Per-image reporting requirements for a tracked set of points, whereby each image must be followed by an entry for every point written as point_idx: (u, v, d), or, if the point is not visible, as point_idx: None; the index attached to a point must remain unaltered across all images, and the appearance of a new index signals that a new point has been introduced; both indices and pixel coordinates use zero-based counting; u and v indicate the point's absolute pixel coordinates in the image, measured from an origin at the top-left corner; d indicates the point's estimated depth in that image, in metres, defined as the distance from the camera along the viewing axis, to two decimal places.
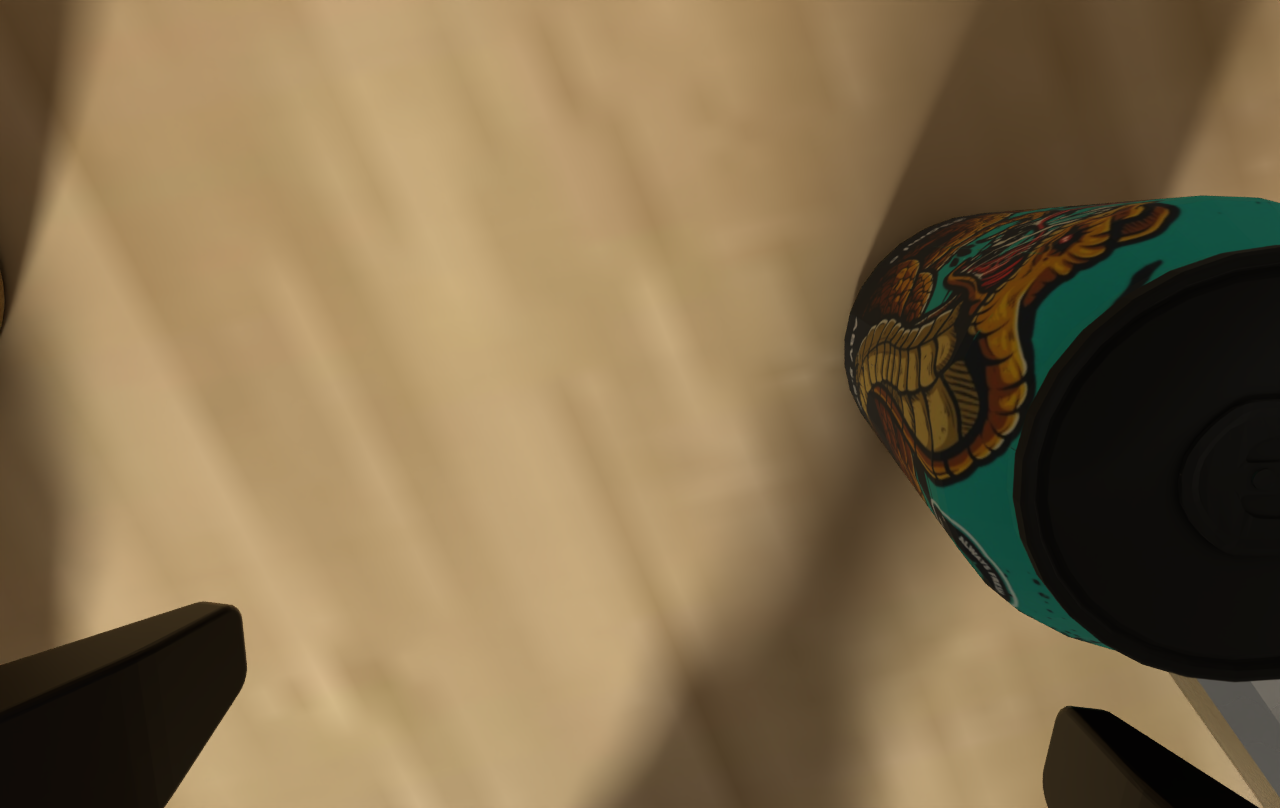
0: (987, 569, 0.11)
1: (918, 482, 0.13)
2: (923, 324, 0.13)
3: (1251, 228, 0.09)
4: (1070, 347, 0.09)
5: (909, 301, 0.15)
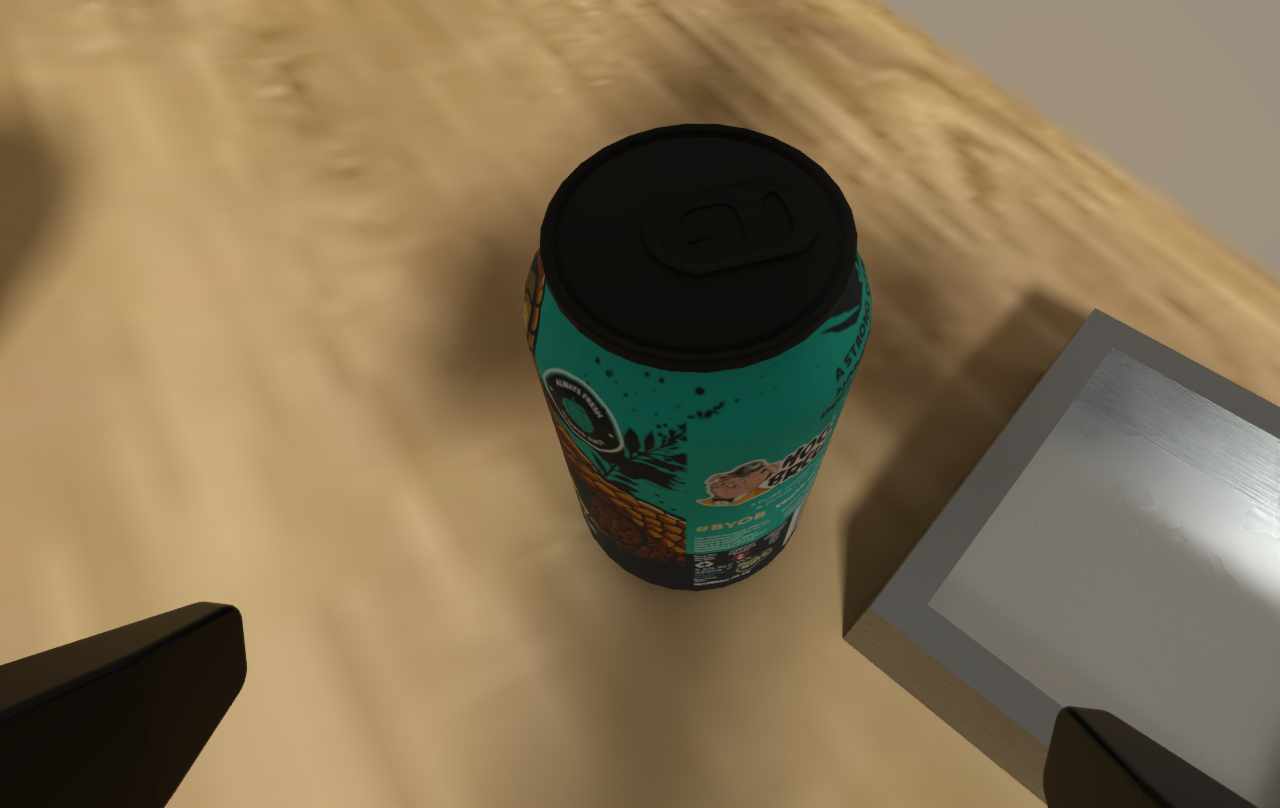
0: (580, 394, 0.13)
1: (557, 417, 0.15)
2: None
3: None
4: (558, 199, 0.14)
5: None
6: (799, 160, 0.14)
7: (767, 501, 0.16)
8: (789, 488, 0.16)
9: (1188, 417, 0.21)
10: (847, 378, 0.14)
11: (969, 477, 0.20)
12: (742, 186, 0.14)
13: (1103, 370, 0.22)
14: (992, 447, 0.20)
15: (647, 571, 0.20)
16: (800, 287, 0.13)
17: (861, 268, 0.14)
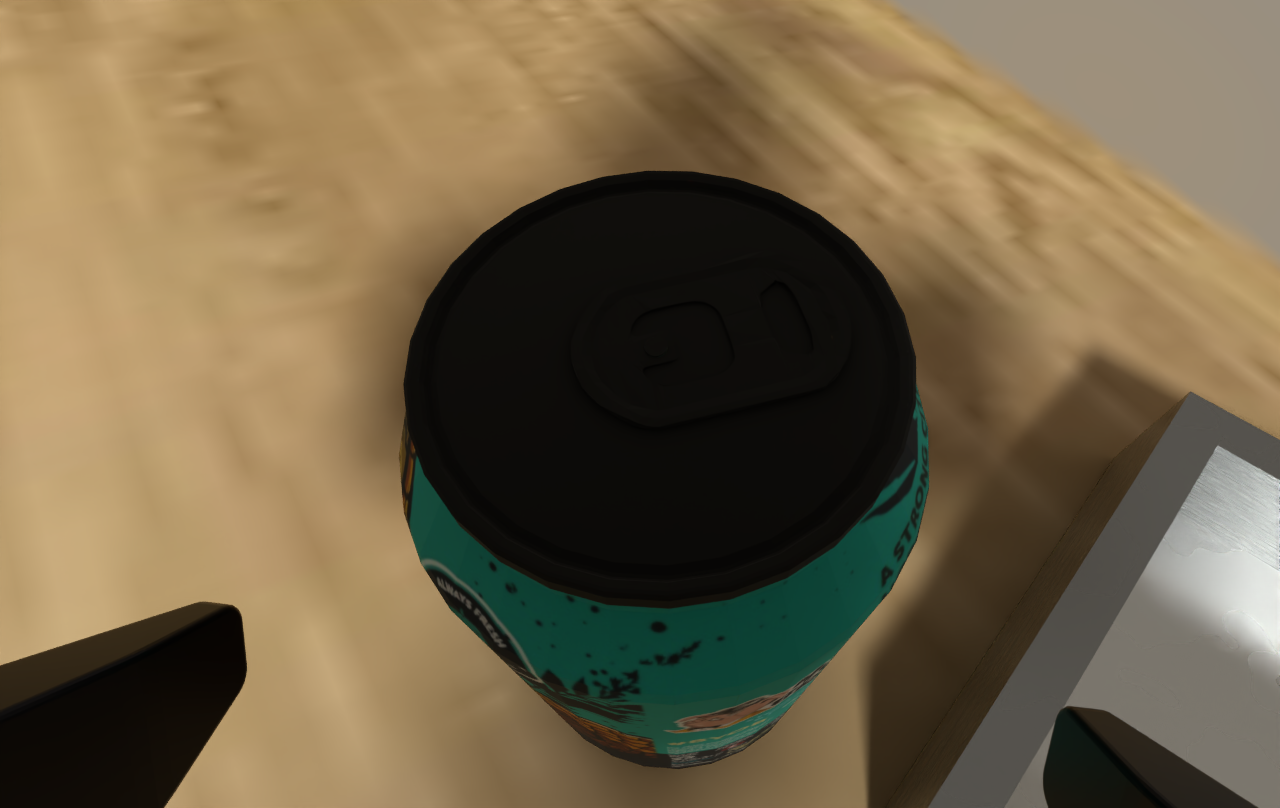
0: (471, 608, 0.08)
1: None
2: None
3: None
4: (446, 288, 0.09)
5: None
6: (819, 228, 0.09)
7: (770, 712, 0.11)
8: (801, 690, 0.11)
9: None
10: (897, 576, 0.09)
11: (1040, 632, 0.15)
12: (730, 271, 0.09)
13: (1202, 471, 0.17)
14: (1069, 588, 0.15)
15: (609, 751, 0.15)
16: (827, 452, 0.08)
17: None
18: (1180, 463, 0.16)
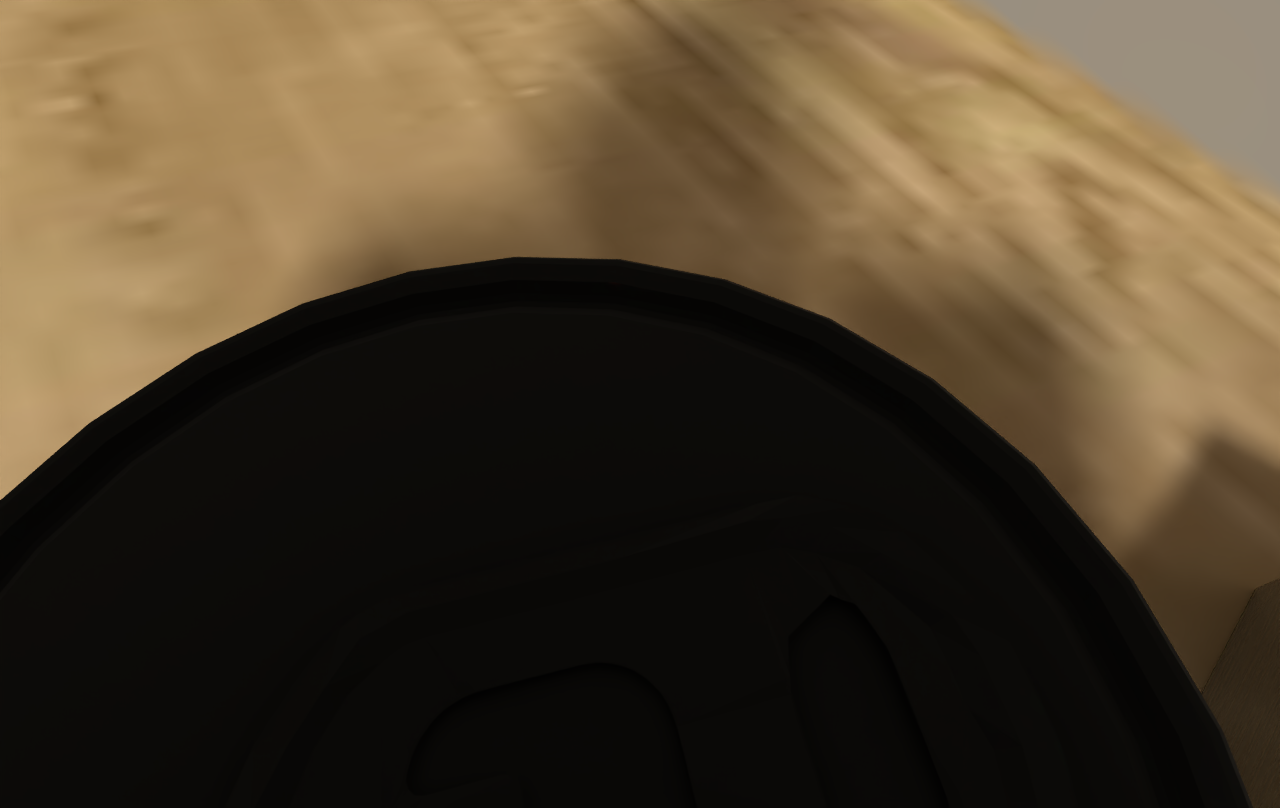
0: None
1: None
2: None
3: None
4: None
5: None
6: (937, 422, 0.04)
7: None
8: None
9: None
10: None
11: None
12: (704, 559, 0.03)
13: None
14: None
15: None
16: None
17: None
18: None
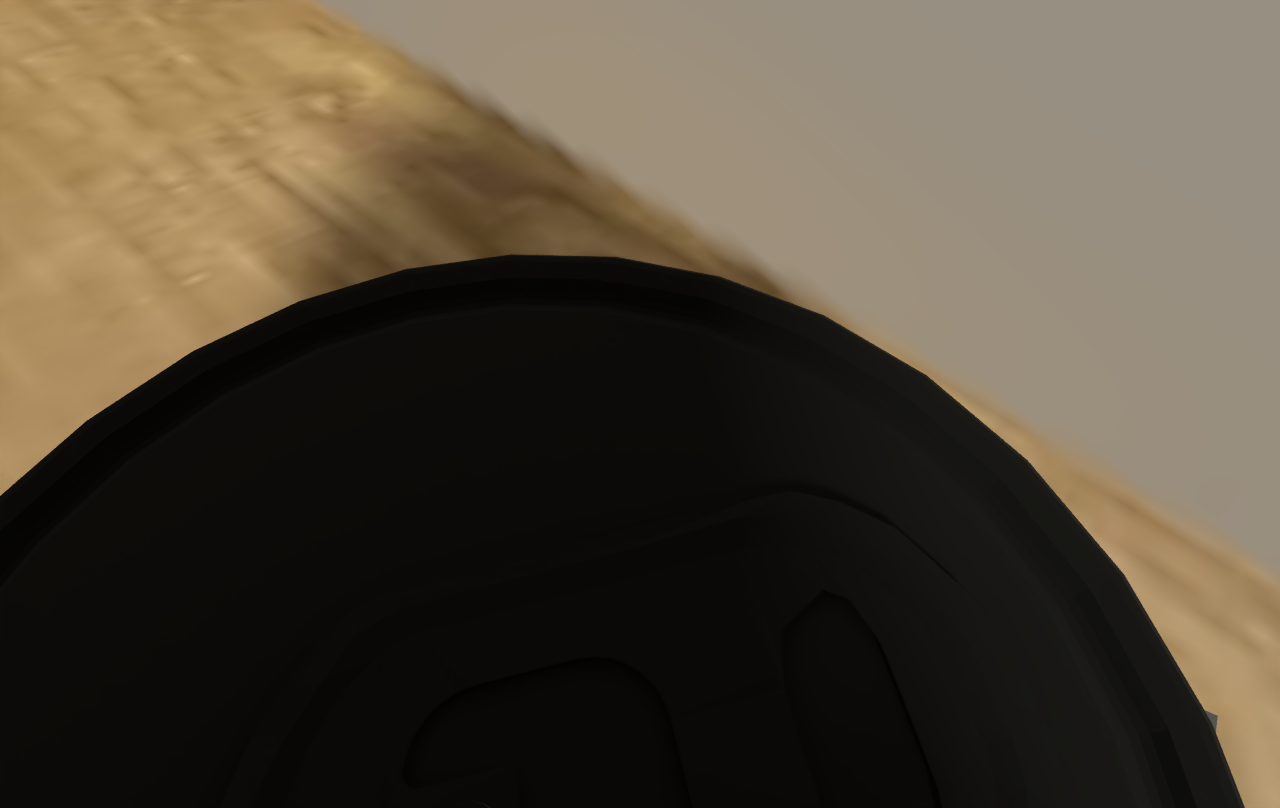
0: None
1: None
2: None
3: None
4: None
5: None
6: (928, 420, 0.04)
7: None
8: None
9: None
10: None
11: None
12: (698, 555, 0.03)
13: None
14: None
15: None
16: None
17: None
18: None
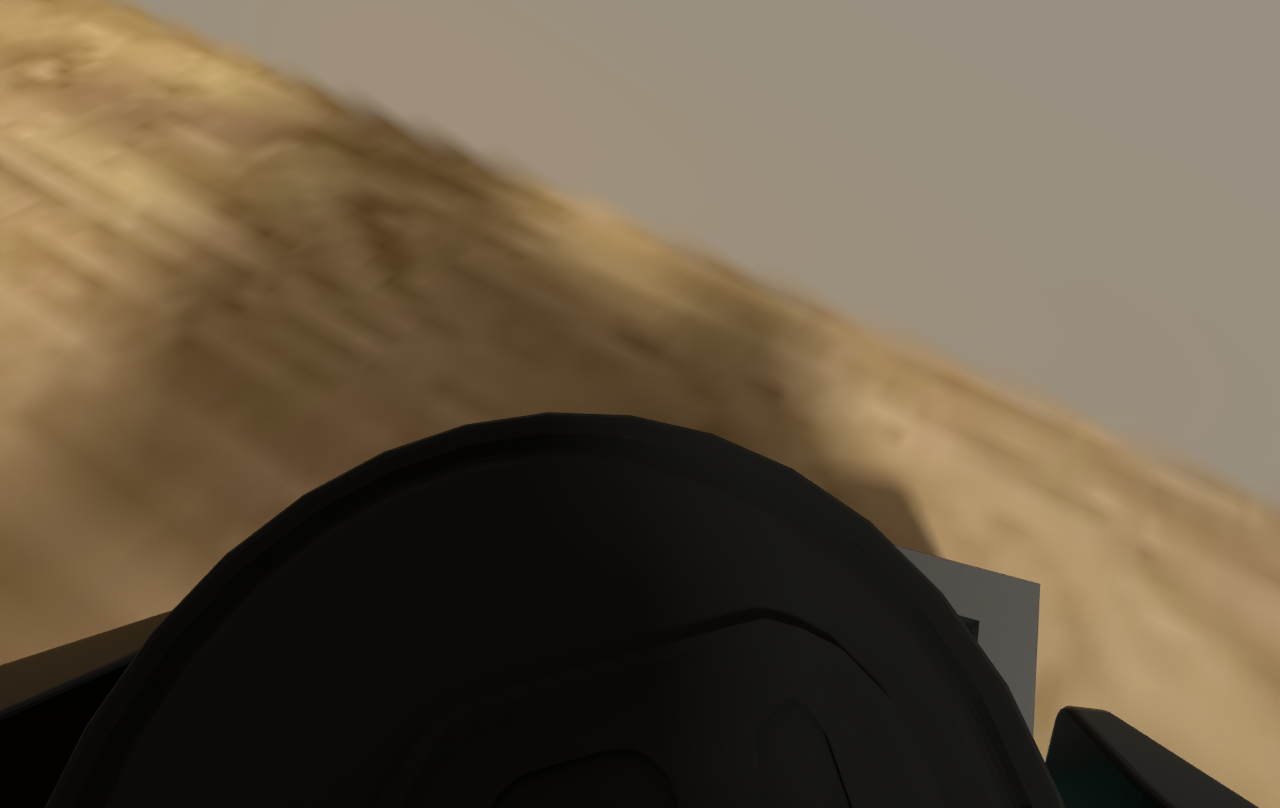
0: None
1: None
2: None
3: None
4: (147, 674, 0.05)
5: None
6: (870, 560, 0.05)
7: None
8: None
9: None
10: None
11: None
12: (697, 668, 0.04)
13: None
14: None
15: None
16: None
17: None
18: None
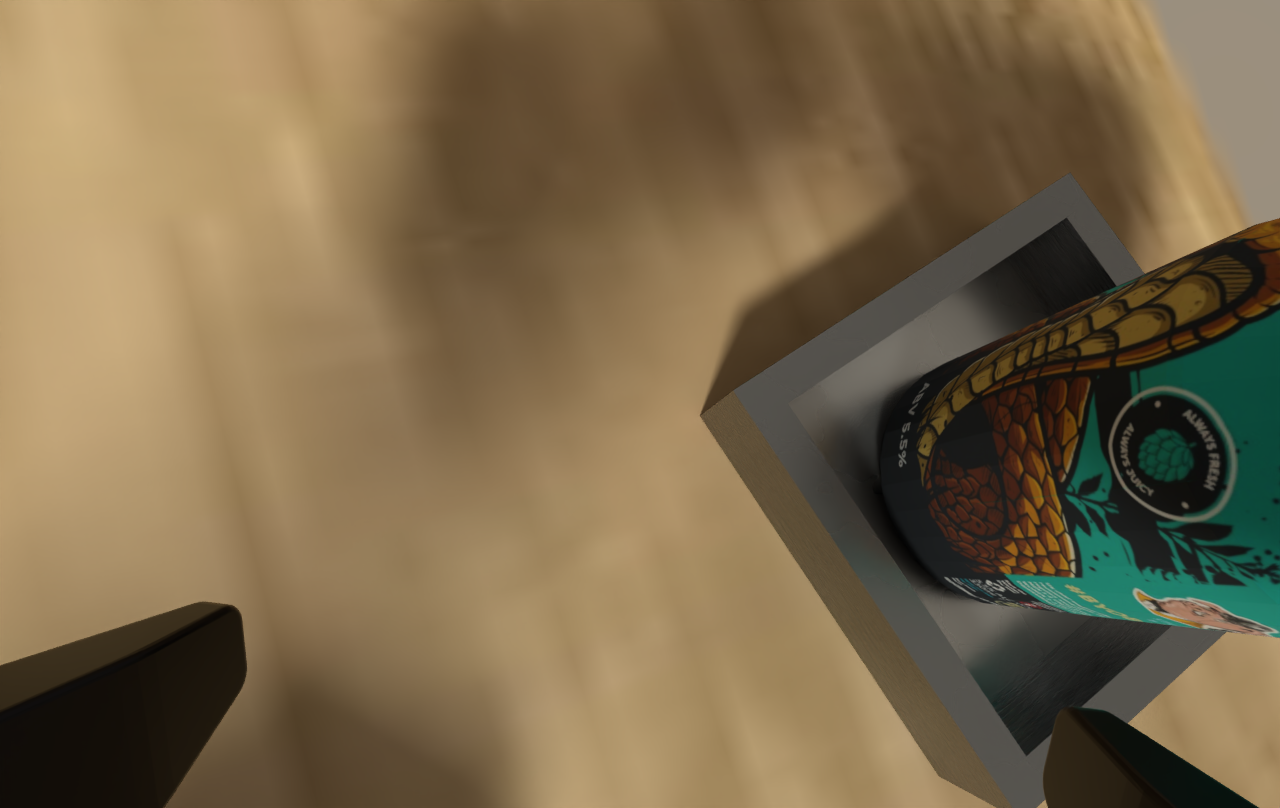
0: (1209, 450, 0.11)
1: (1088, 411, 0.13)
2: (1108, 297, 0.14)
3: None
4: None
5: (1056, 315, 0.16)
6: None
7: (1168, 624, 0.14)
8: (1192, 627, 0.14)
9: None
10: None
11: (876, 299, 0.19)
12: None
13: (1047, 240, 0.21)
14: (910, 277, 0.19)
15: (921, 537, 0.19)
16: None
17: None
18: (1033, 220, 0.20)
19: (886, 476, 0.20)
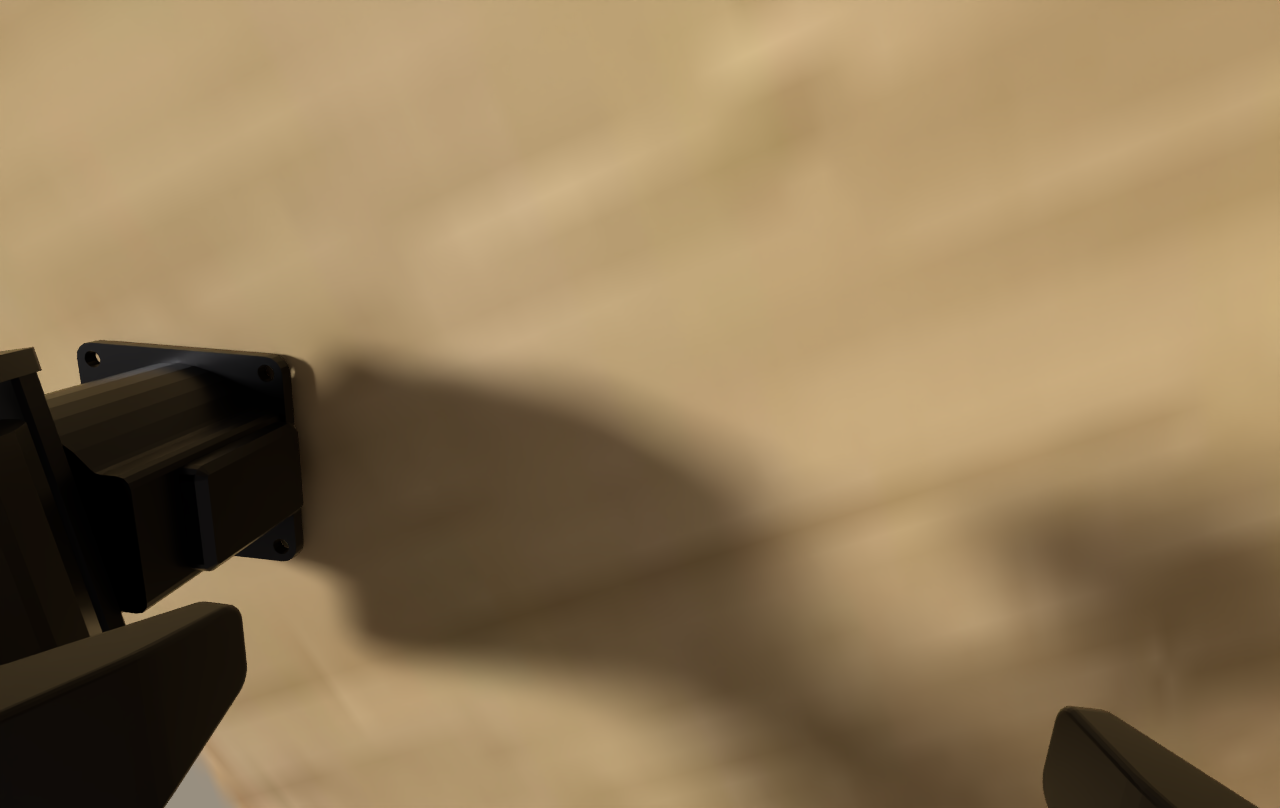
0: None
1: None
2: None
3: None
4: None
5: None
6: None
7: None
8: None
9: None
10: None
11: None
12: None
13: None
14: None
15: None
16: None
17: None
18: None
19: None
